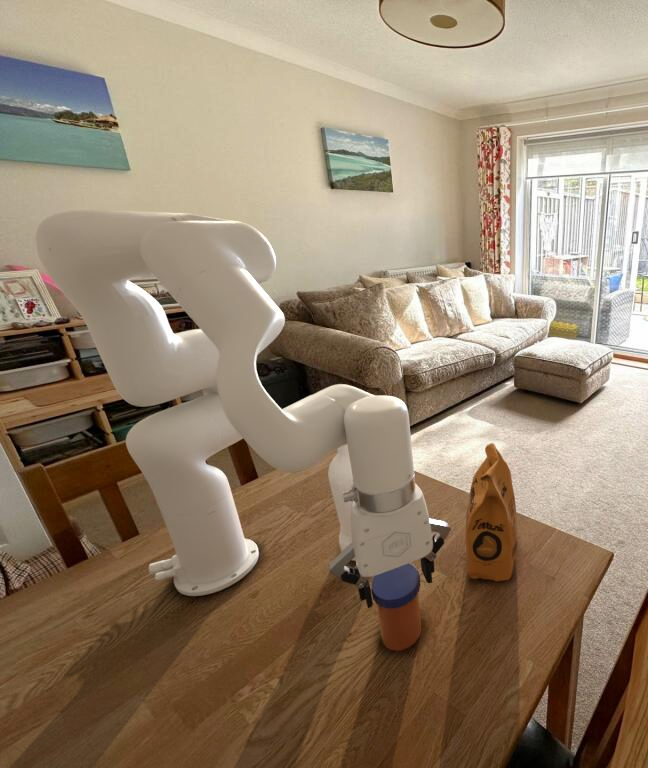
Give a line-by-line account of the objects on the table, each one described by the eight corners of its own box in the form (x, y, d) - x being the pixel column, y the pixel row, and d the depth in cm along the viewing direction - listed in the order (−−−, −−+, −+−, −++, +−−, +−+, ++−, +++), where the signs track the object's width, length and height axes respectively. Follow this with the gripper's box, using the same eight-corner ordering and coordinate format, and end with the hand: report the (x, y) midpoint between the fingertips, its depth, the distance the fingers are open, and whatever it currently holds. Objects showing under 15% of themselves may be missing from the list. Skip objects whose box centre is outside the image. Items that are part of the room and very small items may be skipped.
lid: (377, 617, 55) (376, 608, 54) (368, 580, 61) (366, 572, 60) (426, 596, 58) (425, 588, 58) (412, 563, 64) (412, 555, 63)
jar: (386, 658, 59) (379, 606, 55) (377, 624, 64) (370, 575, 60) (426, 639, 62) (422, 589, 58) (414, 608, 67) (410, 560, 63)
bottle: (371, 566, 74) (351, 422, 63) (332, 559, 76) (305, 416, 65) (392, 536, 82) (377, 401, 71) (355, 529, 83) (335, 397, 72)
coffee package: (458, 582, 72) (455, 478, 64) (470, 532, 83) (469, 439, 75) (514, 586, 71) (518, 482, 63) (518, 536, 83) (522, 442, 74)
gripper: (315, 528, 46) (338, 636, 52) (458, 484, 54) (463, 583, 60) (310, 492, 52) (331, 593, 58) (439, 458, 60) (445, 549, 66)
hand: (398, 587), depth 59 cm, fingers open, 8 cm apart
